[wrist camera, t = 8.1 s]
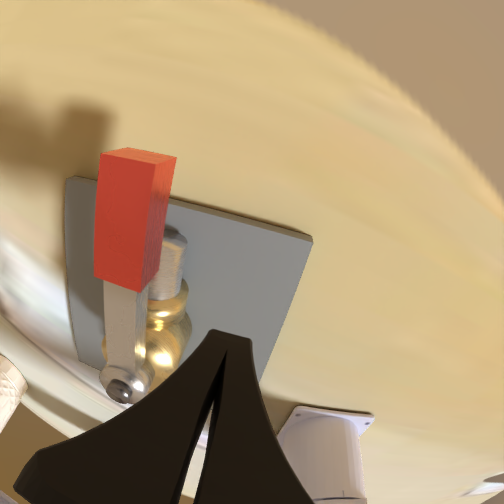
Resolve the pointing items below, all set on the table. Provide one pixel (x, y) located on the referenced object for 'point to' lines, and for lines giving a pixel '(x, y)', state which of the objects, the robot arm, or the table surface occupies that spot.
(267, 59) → the table surface
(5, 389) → the white cup
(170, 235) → the valve
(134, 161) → the lever
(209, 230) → the base board
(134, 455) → the robot arm
